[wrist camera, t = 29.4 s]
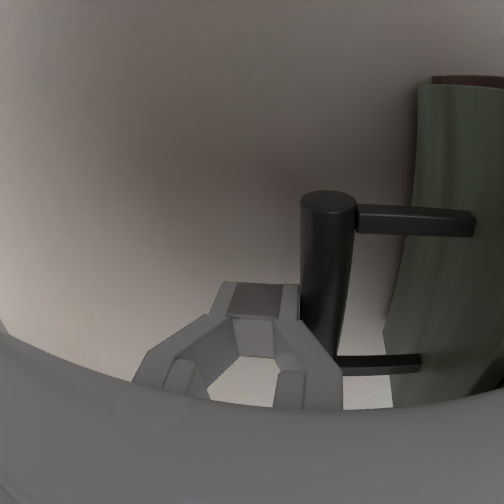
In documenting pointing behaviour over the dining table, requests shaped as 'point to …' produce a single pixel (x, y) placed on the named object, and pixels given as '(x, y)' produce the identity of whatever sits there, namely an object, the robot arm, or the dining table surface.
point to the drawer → (424, 256)
